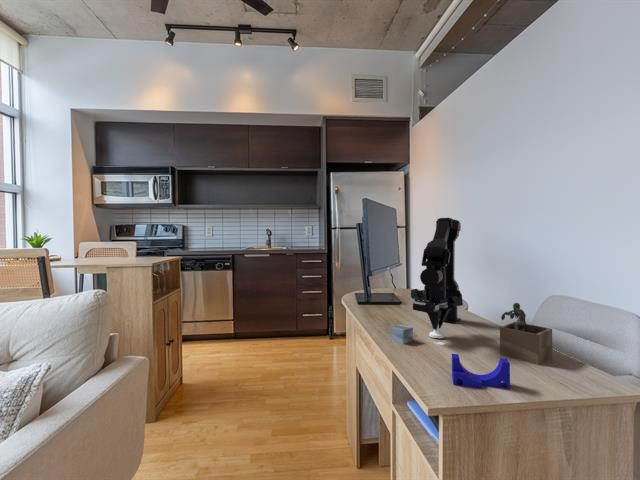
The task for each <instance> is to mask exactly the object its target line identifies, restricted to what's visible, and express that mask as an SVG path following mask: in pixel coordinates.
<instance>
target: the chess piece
mask: <svg viewBox="0 0 640 480" xmlns="http://www.w3.org/2000/svg"><path fill="white" fill-rule="evenodd" d="M428 336H429V337H431V338H433V339H444V338H445V333H443V332H441V330H440V329H439V324H438V327H437V330H435V329H433V331H430V332H429V335H428Z"/></svg>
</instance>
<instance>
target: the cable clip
mask: <svg viewBox="0 0 640 480" xmlns="http://www.w3.org/2000/svg"><path fill="white" fill-rule="evenodd" d="M451 378H452V385H453V386H459V387H467V388H475V389H483V387H490V388H499V389H505V390H510V389H511V362H509V359H508V358H505V357H499V361H498V364H497V366H496V367H495V368H494V370H492V371H491V372H489V373H486V374H476V373H473V372H471V371H469V370H468V369H466V368H465V367H464V366H463V365H462V362H461V361H460V356H459V353H451Z"/></svg>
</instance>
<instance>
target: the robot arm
mask: <svg viewBox="0 0 640 480" xmlns="http://www.w3.org/2000/svg"><path fill="white" fill-rule="evenodd" d="M461 224H462V223H461V222H460V220H457V219H454V218H452V217H439V218H437V219H436V221H435V230H434V235H433V239H432V240H430V241H428V243H427V244H426V247H425V248H424V249H423V255H422V258H421V259H422V260H421V266H422V267H425V269H423V270H422V271H421V273H420V275H419V278H420V281H421V283H422V284H423V285H424V287H423V289H422V290H419V289H418V288H415V289H414V288H413V289H411V290H410V298H411V299H412V300H414V302H413V303H412V310H413V311H417V312H422V313H426V314H427V316H428V318H429V320H430V324H431V327H432V329H433V330H434V329H435V330H437V327H438V324H439V330H440V329H441V328H442V327H443V324H444V322H445V321H446V322H450V323H454V322H455V323H456V322H458V321H462V318H461V317H458V307H460V306H464V305H463V304H464V302H463V294H462V292H461V290H459V289H460V288H459V283H457V281H456V279H455V260H456V259H455V255H456V254H455V252H456V251H455V247H456V246H455V242H456V241H457V239H458V237H459V235H460V232H461V230H462V229H461V228H462V226H461Z"/></svg>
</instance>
